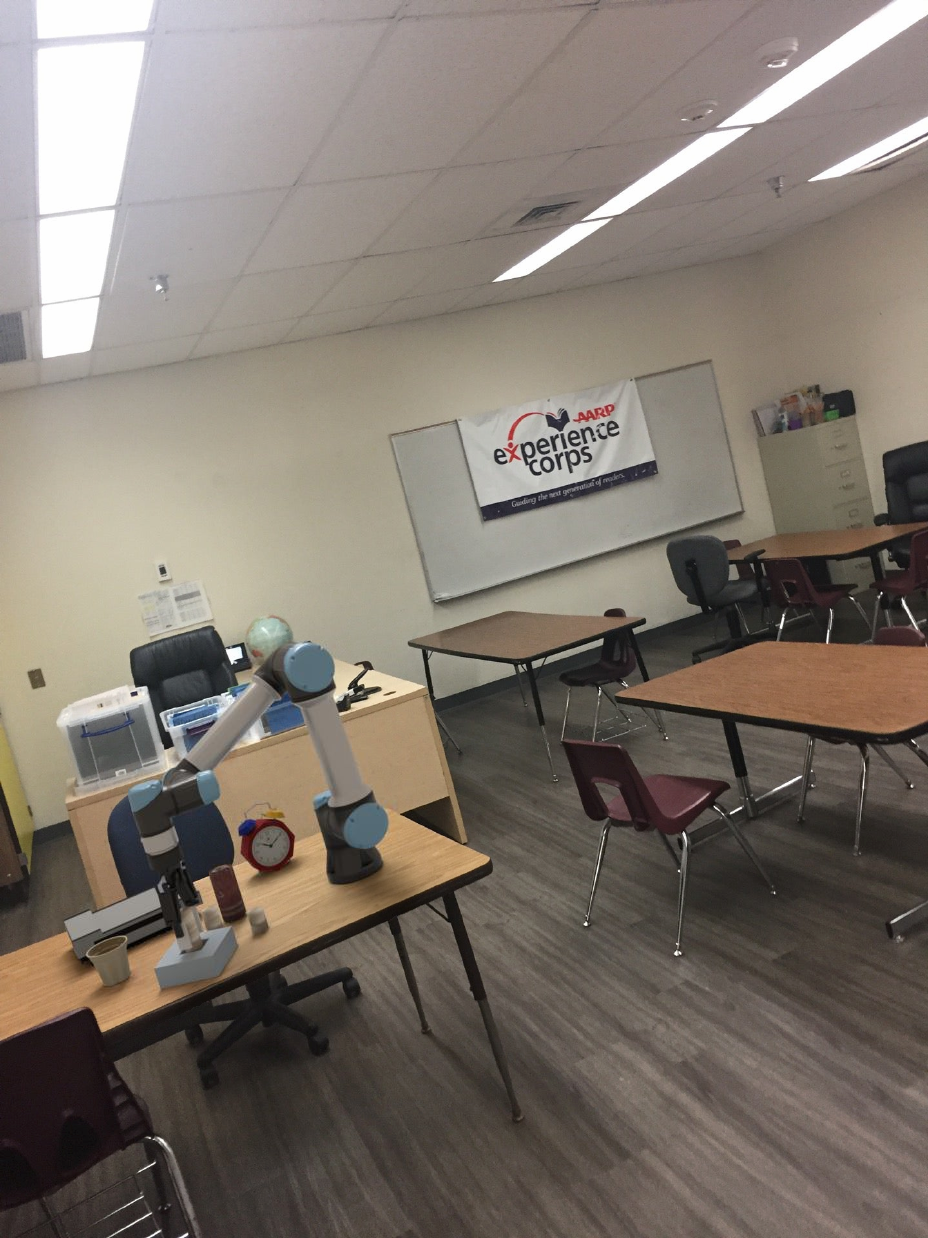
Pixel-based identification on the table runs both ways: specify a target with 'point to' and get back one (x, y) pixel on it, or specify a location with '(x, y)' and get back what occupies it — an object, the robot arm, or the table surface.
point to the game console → (120, 922)
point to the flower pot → (111, 960)
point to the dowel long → (191, 929)
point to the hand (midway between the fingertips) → (192, 940)
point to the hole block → (197, 959)
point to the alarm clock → (266, 841)
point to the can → (227, 892)
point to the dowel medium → (212, 918)
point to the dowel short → (257, 920)
